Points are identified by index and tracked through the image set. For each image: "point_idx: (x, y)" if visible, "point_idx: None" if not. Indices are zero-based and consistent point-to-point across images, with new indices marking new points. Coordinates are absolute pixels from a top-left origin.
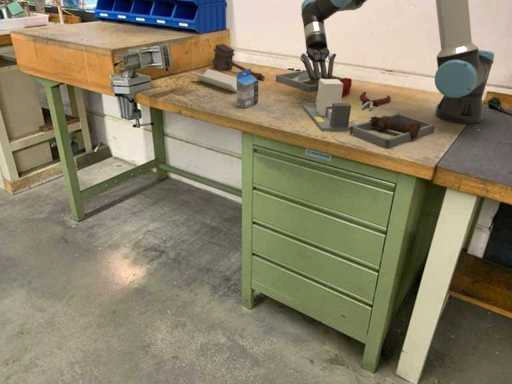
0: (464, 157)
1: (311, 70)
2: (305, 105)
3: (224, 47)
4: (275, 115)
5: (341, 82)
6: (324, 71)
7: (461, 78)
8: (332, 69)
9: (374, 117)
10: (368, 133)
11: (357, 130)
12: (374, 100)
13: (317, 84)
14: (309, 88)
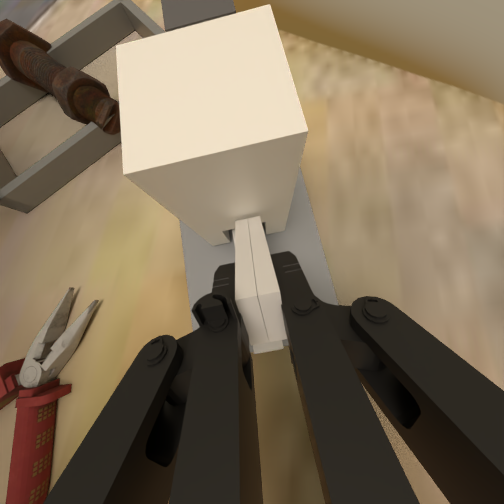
0: (4, 19)
1: (464, 393)
2: (327, 302)
3: None
4: (439, 192)
5: (119, 75)
6: (219, 409)
7: None
8: (58, 490)
9: (98, 96)
10: (156, 24)
11: None
12: (1, 386)
13: (299, 264)
14: None
